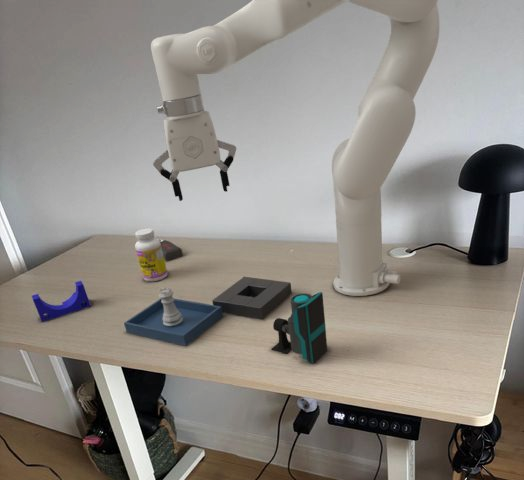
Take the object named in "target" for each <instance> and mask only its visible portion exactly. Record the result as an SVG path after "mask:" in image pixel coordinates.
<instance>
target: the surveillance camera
mask: <svg viewBox="0 0 524 480" xmlns="http://www.w3.org/2000/svg"><path fill="white" fill-rule="evenodd" d="M289 300H290V309H291V314H290V316H289V317H288V318H287V319H285V318H280V317H278V318H276V319H274V321H273V325H272V326H273V330H274V331H276V332H277V334H278V343H276V344H275V345H274V346H273V347H272V348H271V351H274V352H277V353H281V354H284V355H288V354H289V353H290V352H292V353H295V354H298V355H301V356H302V360H304V361H306V362H307V363H309V364H316V363H317V362H318V360H320V359H321V357H323V356H324V355H325V354H326V353H327V352H328V342H327V341H328V339H327V329H326V319H325V306H324V295H323V292H322V291H319V292H317V293H315V294H313V295H311V294H310V293H297V294H295V295H293V296H291V297H290V299H289ZM288 335H289V339H290V341H289V339H288Z"/></svg>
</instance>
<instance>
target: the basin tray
mask: <svg viewBox="0 0 524 480" xmlns="http://www.w3.org/2000/svg"><path fill="white" fill-rule="evenodd" d="M161 301H162V299H161V298H159V299H157V300H156V301H155V302H153V303H151V304H150V305H148V306H147V307H145V308H144V309H143V310H141V311H140V312H138V313H136V314H135V315H134V316H132V317H130V318H128V320H126V321H125V322H123V325H124V328H125V332H126V333H127V334H131V335H135V336H139V337H143V338H149V339H153V340H158V341H162V342H165V343H171V344H174V345H180V346H184V347H187V346H189V345H190V344H191V343H192V342H193V341H195V340H196V339H197V338H198V337H200V335H202V334H203V333H204V332H206V331H207V330H208V329H209V328H211V327H212V326H213V325H214V324H216V323H217V322H218V321H220V320H221V319H222V318H223V317H224V313H223V312H222V307H221V306H215V305H213V304H208V303H203V302H197V301H192V300H191V301H190V300H186V299H179V298H174V304H175V306H176V308H177V310H179V312H180V313H181V314H182V316H181V317H182V318H183V320H182V322H181V324H179V325H177V326H174V327H167V326H165V325H164V324H163V313H164V307H163V303H162V302H161Z"/></svg>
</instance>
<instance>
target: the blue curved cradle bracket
mask: <svg viewBox="0 0 524 480" xmlns="http://www.w3.org/2000/svg"><path fill="white" fill-rule="evenodd" d="M74 284H75V292H73V293H72V294H71V296H70V297H69V298H68V299H65V301H62V302H61V303H62V304H56V305H55V304H51V303H48V302H46V301H44V300H43V299H42V298H41V296H40V294H39V293H36V294H33V295H31V298H32V301H33V304H34V305H35V309H36V311H37V313H38V315H39V316H38V317H39V318H40V320H41V323H43V322H46V321H50V320H53V319H56V318H59V317H62V316H65V315H68V314H71V313H74V312H79V311H80V310H84V309H86V308H90V307H91V306H92V305H91V303H90V300H89V297H88V294H87V291H86V288H85V286H84V283H83V282H82V280H79V281H75V282H74Z"/></svg>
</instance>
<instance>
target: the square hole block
mask: <svg viewBox="0 0 524 480" xmlns="http://www.w3.org/2000/svg"><path fill="white" fill-rule="evenodd" d="M291 295H293V291H292V283H291V282H290V281H280V280H274V279H267V278H266V279H265V278H259V277H258V278H257V277H249V276H242V278H240V279H239V280H237V281H236V282H235V283H234V284H232V285H231V286H229V287H228V288H227V289H225V290H224V291H222V293H220V294H219V295H217V296H216V297H214V298H213V299H212V300H211V302H212V305H215V306H221V307H222V312H223V314H229V315H235V316H239V317H245V318H250V319H256V320H257V319H258V320H264V319H265V318H266V317H267V316H269V314H270V313H272V312H273V311H274V310H275V309H277V308H278V306H280V305H281V304H282V303H283V302H284V301H286V299H287V298H289V297H290V296H291Z"/></svg>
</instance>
